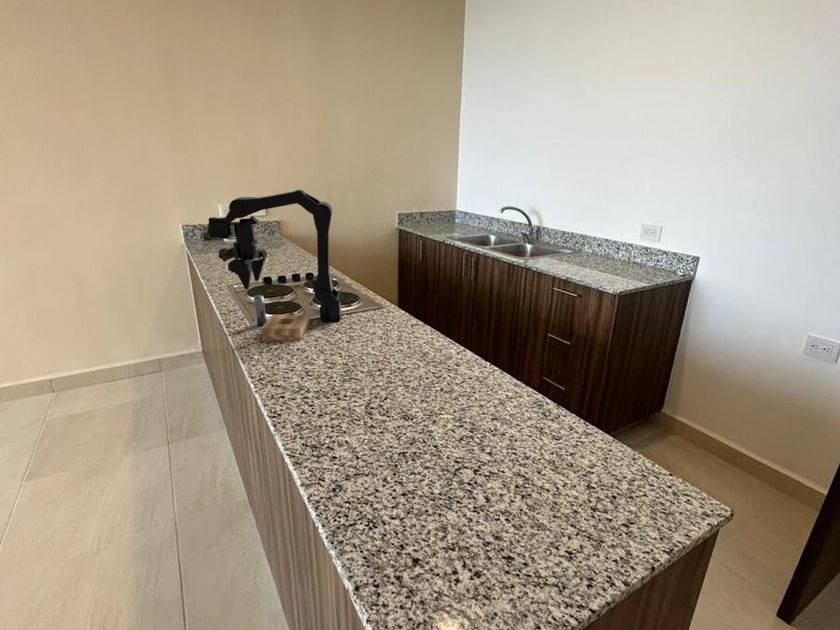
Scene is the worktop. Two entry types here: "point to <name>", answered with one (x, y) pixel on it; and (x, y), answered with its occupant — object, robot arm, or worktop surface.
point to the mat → (255, 326)
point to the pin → (260, 310)
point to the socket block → (285, 327)
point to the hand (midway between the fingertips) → (252, 284)
